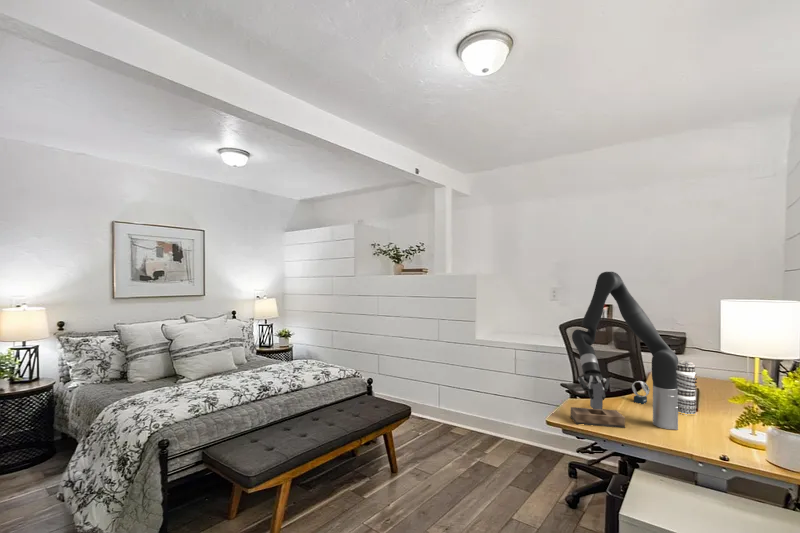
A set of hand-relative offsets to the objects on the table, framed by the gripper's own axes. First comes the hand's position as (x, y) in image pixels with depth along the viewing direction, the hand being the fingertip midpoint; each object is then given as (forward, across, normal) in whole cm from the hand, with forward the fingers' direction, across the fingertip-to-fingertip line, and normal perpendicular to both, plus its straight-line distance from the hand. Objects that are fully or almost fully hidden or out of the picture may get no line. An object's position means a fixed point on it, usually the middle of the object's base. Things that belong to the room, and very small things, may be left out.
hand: (597, 398), depth 179 cm
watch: (-20, +34, +36) cm, 53 cm away
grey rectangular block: (+2, 0, +5) cm, 5 cm away
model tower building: (-10, +48, +26) cm, 56 cm away
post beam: (+7, 0, +9) cm, 11 cm away
